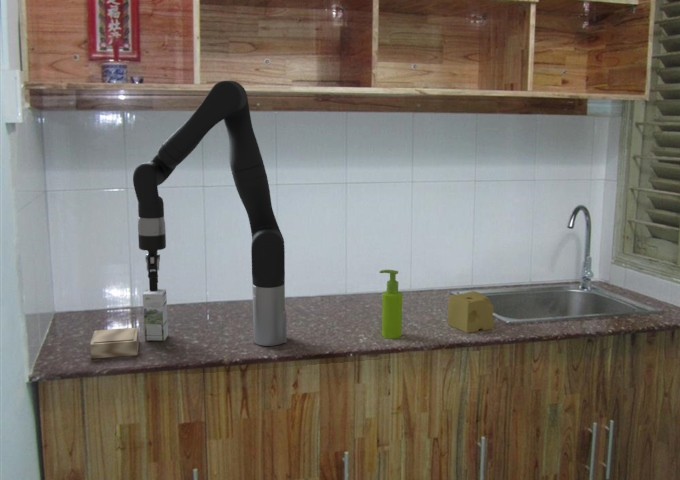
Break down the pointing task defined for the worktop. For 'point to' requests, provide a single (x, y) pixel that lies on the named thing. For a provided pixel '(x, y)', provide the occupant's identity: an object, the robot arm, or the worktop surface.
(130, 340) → the plinth
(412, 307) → the worktop surface
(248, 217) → the robot arm
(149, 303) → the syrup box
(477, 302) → the cheese
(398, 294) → the soap dispenser
